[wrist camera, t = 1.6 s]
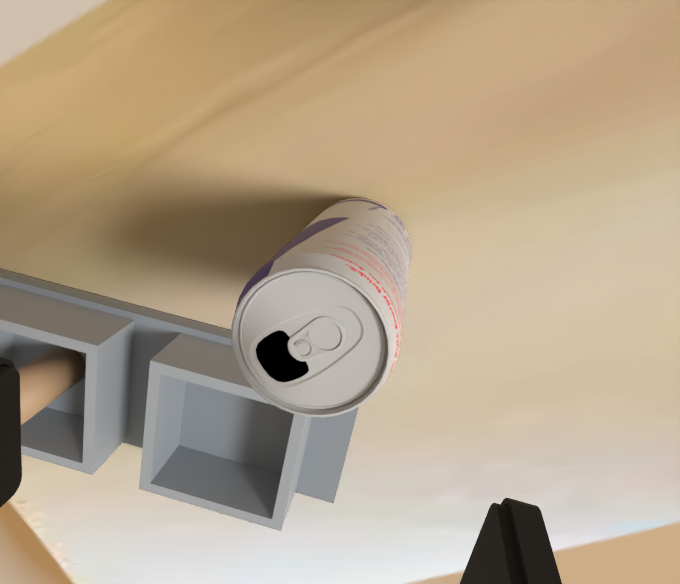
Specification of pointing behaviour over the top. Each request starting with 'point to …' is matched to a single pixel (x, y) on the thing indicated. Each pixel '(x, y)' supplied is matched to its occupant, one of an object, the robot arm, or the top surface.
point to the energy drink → (326, 312)
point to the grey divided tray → (159, 403)
